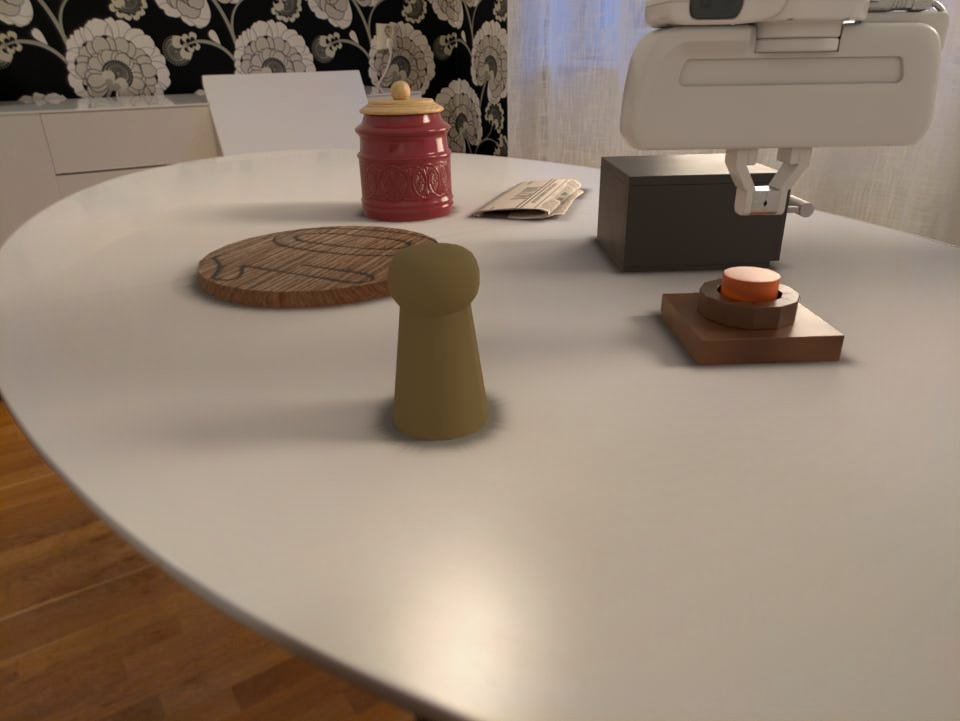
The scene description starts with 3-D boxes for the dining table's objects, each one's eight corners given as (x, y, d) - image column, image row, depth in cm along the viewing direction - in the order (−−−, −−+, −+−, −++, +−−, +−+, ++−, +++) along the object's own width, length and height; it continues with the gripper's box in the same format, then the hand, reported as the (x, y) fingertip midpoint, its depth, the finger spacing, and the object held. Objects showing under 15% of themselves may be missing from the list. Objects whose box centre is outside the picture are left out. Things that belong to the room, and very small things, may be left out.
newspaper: (562, 224, 88) (561, 205, 87) (475, 228, 93) (473, 210, 92) (593, 191, 108) (592, 175, 107) (520, 196, 112) (518, 180, 111)
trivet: (373, 325, 57) (371, 303, 56) (143, 296, 65) (139, 277, 64) (477, 249, 78) (476, 233, 77) (294, 235, 86) (292, 220, 85)
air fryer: (719, 238, 80) (730, 153, 76) (768, 272, 68) (784, 172, 64) (596, 241, 80) (601, 156, 76) (622, 276, 67) (629, 176, 63)
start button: (763, 287, 52) (767, 265, 52) (786, 304, 49) (790, 281, 48) (712, 288, 52) (715, 266, 52) (731, 306, 49) (734, 283, 48)
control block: (777, 315, 57) (785, 270, 55) (838, 365, 48) (850, 312, 46) (659, 319, 56) (664, 273, 55) (698, 370, 47) (705, 317, 46)
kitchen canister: (386, 229, 88) (374, 83, 81) (348, 212, 98) (335, 81, 91) (470, 216, 94) (467, 79, 87) (427, 201, 104) (420, 78, 97)
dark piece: (767, 230, 79) (778, 161, 76) (819, 259, 68) (835, 180, 65) (618, 234, 79) (622, 165, 76) (645, 264, 68) (652, 185, 64)
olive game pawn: (372, 423, 41) (354, 249, 37) (442, 389, 45) (434, 228, 41) (440, 458, 38) (429, 269, 33) (510, 418, 42) (509, 244, 37)
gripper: (923, -5, 45) (876, 202, 51) (622, -1, 45) (608, 207, 51) (991, -14, 40) (929, 220, 45) (646, -10, 39) (628, 226, 45)
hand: (758, 213), depth 48 cm, fingers closed
